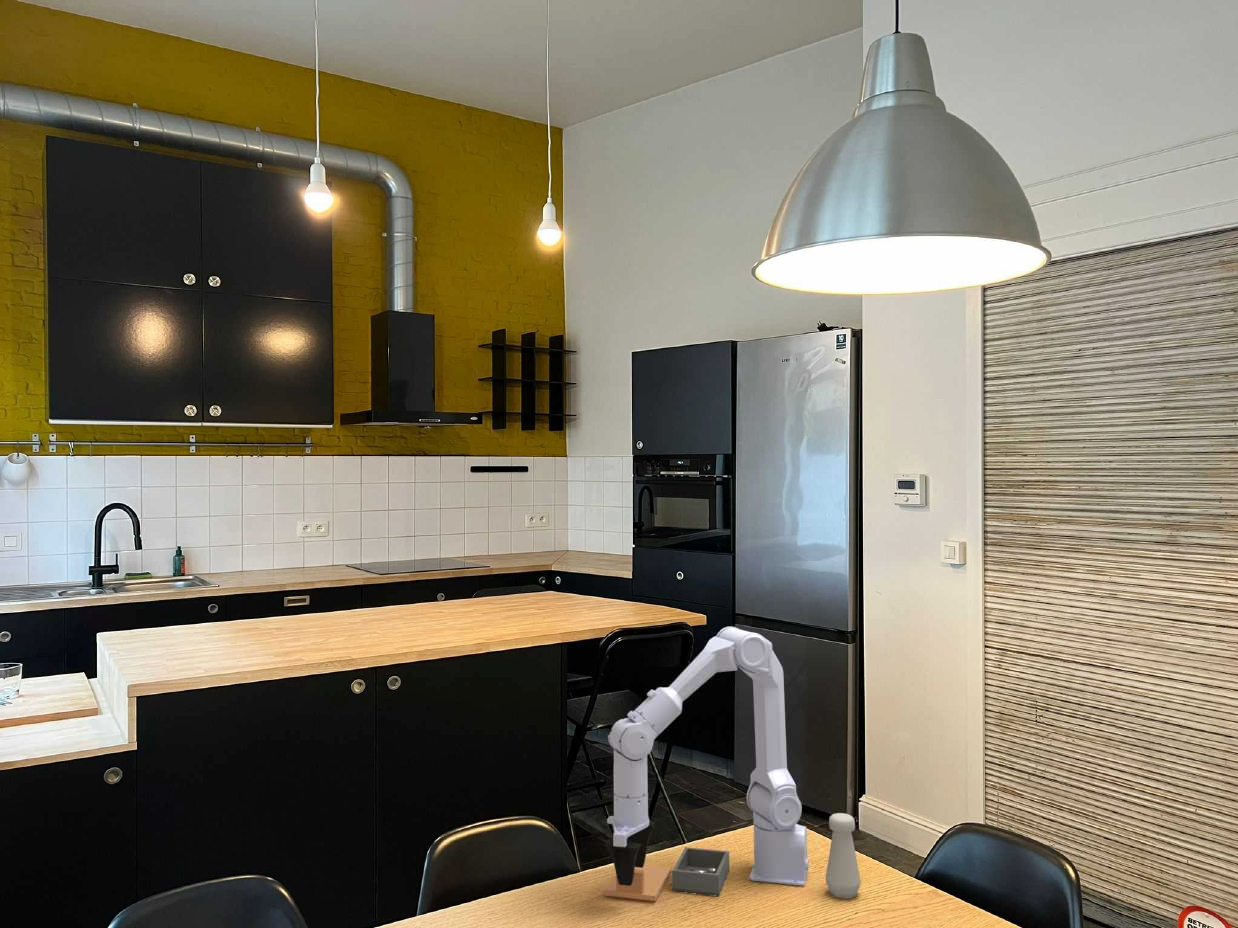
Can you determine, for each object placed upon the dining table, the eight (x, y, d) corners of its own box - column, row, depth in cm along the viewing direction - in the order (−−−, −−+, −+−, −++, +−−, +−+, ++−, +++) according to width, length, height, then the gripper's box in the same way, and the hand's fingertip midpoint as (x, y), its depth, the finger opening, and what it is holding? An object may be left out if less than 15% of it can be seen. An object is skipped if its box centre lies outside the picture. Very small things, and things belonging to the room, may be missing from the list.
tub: (729, 871, 165) (729, 851, 166) (718, 896, 155) (718, 875, 155) (685, 866, 168) (685, 846, 168) (672, 891, 157) (672, 870, 157)
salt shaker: (861, 902, 152) (860, 822, 153) (826, 899, 153) (824, 820, 154) (859, 887, 158) (858, 810, 158) (825, 885, 159) (824, 808, 160)
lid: (671, 876, 164) (671, 848, 164) (655, 905, 152) (655, 874, 152) (622, 871, 166) (622, 843, 166) (603, 899, 155) (602, 869, 155)
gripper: (619, 778, 163) (620, 856, 163) (595, 804, 149) (595, 890, 149) (658, 781, 161) (659, 860, 161) (637, 808, 148) (638, 894, 147)
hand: (631, 875), depth 155 cm, fingers open, 7 cm apart
